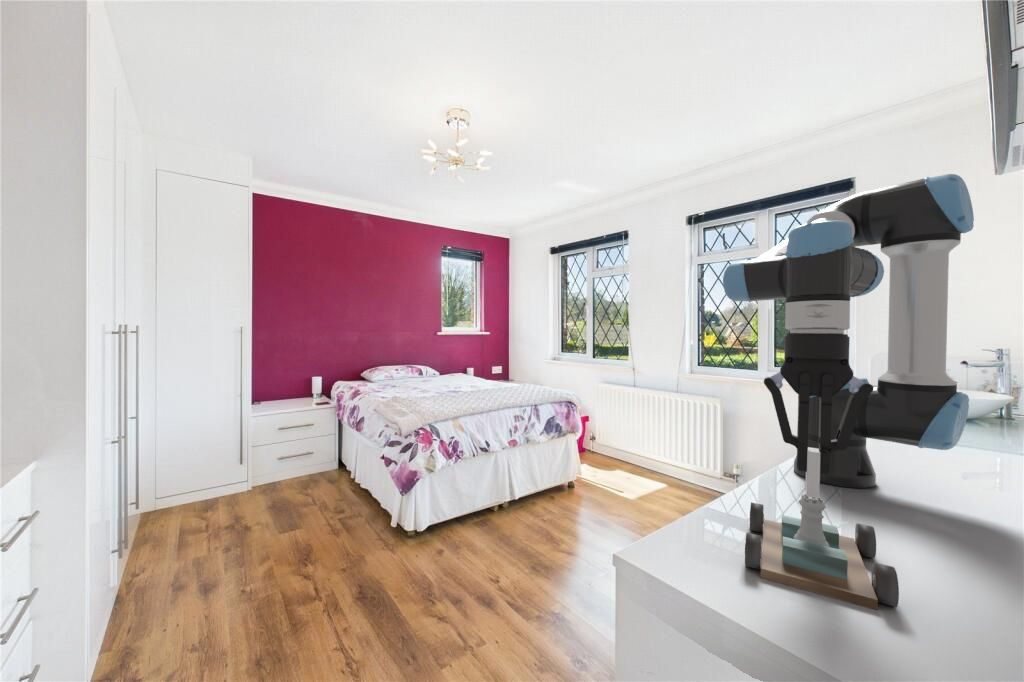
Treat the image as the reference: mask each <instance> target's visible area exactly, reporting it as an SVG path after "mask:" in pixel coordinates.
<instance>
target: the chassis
mask: <svg viewBox="0 0 1024 682" xmlns="http://www.w3.org/2000/svg"><path fill="white" fill-rule="evenodd" d="M749 510H750V511H749V530H750V531H753V532H758V533H762V535H759V534H754V533H750V532H746V534H745V542H744V566H746V567H749V568H751V569H752V568H753V569H755V570H760V578H763V579H765V578H766V579H765V580H769V581H773V582H776V583H780V584H784V585H788V586H791V587H795V588H798V589H802V590H805V591H808V592H812V593H815V594H820V595H823V596H827V597H830V598H833V597H834V599H836V600H837V599H838V600H840V601H841V600H842V601H844V602H848V603H851V604H855V605H858V606H862V607H866V608H869V609H873V610H877V611H878V609H879V608H878V607H879V603H880V604H885V605H886V606H887V605H888V606H892V607H896V608H897V607H898V605H899V599H900V588H899V578H898V574H897V571H896V568H895V566H892V565H887V564H883V563H877V562H873V563H872V565H871V579H870V576H869V574H868V572H867V568H866V567H865V564H864V561H863V559H862V557H866V558H871V559H875V558H876V555H877V536H876V531H875V528H874V526H871V525H868V524H867V525H866V524H863V523H862V524H861V523H856V524H855V530H854V531H855V532H854V538H853V537H848V536H843V535H840V532H839V529H838V526H836V525H833V524H832V525H831V524H826V523H822V528H823V534H824V536H825V538H826V541H827V542H828V544H829V547H827V546H822V545H818V544H814V543H809V542H805V541H801V540H796V539H793V537H794V535H795V534H797V531H798V530H799V528H800V524H801V518H797V517H794V516H788V515H783V514H782V515H781V522H778V521H774V520H769V519H765V514H764V504H762V503H761V504H760V503H756V502H750V508H749Z"/></svg>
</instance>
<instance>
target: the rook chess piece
mask: <svg viewBox="0 0 1024 682" xmlns="http://www.w3.org/2000/svg"><path fill="white" fill-rule="evenodd" d="M798 503H799V505H800V506H801V510H800V511H799V512H800V516H801V518H800V519H801V524H800V528H799V530H798V531H797V534H795V535H794V537H793V539H796V540H801V541H805V542H809V543H814V544H818V545H822V546H827V547H829V544H828V542H827V541H826V538H825V536H824V534H823V528H822V524H823V520H824V515H823V511H824V510H825V509H826V507H827V506H826V505H825V504H824V499H823V498H822V497H821V496H819V498H813V497H808V496H806V493H804V494H802V495H801V498H800V499H799V500H798Z"/></svg>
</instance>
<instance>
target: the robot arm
mask: <svg viewBox="0 0 1024 682" xmlns="http://www.w3.org/2000/svg"><path fill="white" fill-rule="evenodd" d="M973 228H974V210H973V203H972V200H971V196H970V193H969V189H968V187H967V184H966V182H965V180H964V178H962V177H961V176H960V175H958V174H955V173H947V174H941V175H937V176H932V177H929V176H925V177H924V178H920V179H916V180H912V181H907V182H904V183H898V184H895V185H890V186H886V187H882V188H878V189H873V190H868V191H867V190H866V191H863V192H859V193H856V194H853V195H851V196H848V197H846V198H844V199H842V200H840V201H838V202H835V203H833V204H831V205H830V206H827V207H826V208H824V209H822V210H820V211H819V212H817V213H815V214H814V215H813V216H811V217H810V218H809V219H808V220H807V221H806V222H805V224H801V225H798V226H796V227H794V228H793V229H791V231H790V232H789V234H788V236H787V237H786V239H784V240H782V241H780V242H779V243H778V244H776V245H775V246H773V247H772V248H770V249H768V250H767V251H765V252H763V253H762V254H761V255H759V256H757V257H756V258H754V259H750V260H742V261H738V262H733V263H731V264H729V265H727V267H726V268H725V271H724V273H723V276H722V285H723V289H724V290H723V291H724V293H725V295H726V296H727V298H728V299H729V300H731V301H733V302H748V303H750V302H760V301H772V300H773V301H774V300H785V316H784V317H785V318H784V320H785V321H784V323H785V329H786V330H789V332H788V333H786V335H785V336H784V359H783V363H782V365H781V367H780V371H778V372H777V373H775V374H773V375H771V376H766V377H765V378H764V379H763V383H764V385H765V387H766V388H767V390H768V391H769V392H770V394H771V397H772V400H773V404H774V410H775V413H776V417H777V420H778V424H779V428H780V433H781V437H782V441H783V442H784V443H785V444H789V445H792V446H794V447H795V448H796V450H797V451H796V456H795V458H794V461H793V471H794V473H796V474H797V475H799V476H801V477H803V478H805V483H804V484H805V489H804V490H805V494H806V496H808V497H809V498H812V497H813V498H816V499H818V498H819V497H820V486H821V485H820V483H822V484H827V485H832V486H837V487H844V488H851V489H852V488H854V489H855V488H856V489H863V488H864V489H865V488H866V489H867V488H872V487H875V486H876V484H877V480H876V479H877V478H876V477H877V476H876V475H877V474H876V472H875V469H874V466H873V464H872V461H871V458H870V455H869V452H868V450H867V439H871V440H877V441H883V442H890V443H896V444H901V445H907V446H914V447H918V448H919V449H923V448H924V449H932V450H933V449H934V450H939V451H940V450H941V451H949V450H950V449H954V447H955V446H957V445H958V443H959V441H960V439H961V437H962V435H963V432H964V430H965V427H966V423H967V418H968V414H969V410H970V409H969V408H970V404H969V403H970V399H969V395H968V394H967V393H964V392H962V391H957V390H958V387H957V386H958V383H957V381H955V380H954V379H953V378H951V376H949V375H948V374H947V339H948V338H947V337H948V298H949V294H948V293H949V264H950V263H949V261H950V260H949V259H950V258H949V256H950V252H952V250H954V249H955V248H956V247H958V246H959V245H960V244H961V238H962V237H961V236H962V234H966V233H969V232H971V231H972V230H974V229H973ZM873 245H880V252H881V253H883V254H884V255H885V256H887V257H888V258H889V285H888V286H889V290H888V291H889V295H888V333H887V334H888V335H887V337H888V339H887V340H888V341H887V343H888V344H887V370H886V372H884V373H883V374H882V375H881V376H879V377H878V378H877V385H872V384H871V383H870V381H868V378H866V377H865V378H864V377H856V376H854V370H853V369H852V368H851V366H850V361H849V360H850V340H851V339H850V336H848V335H849V334H847V333H846V334H845V331H846V330H847V331H848V330H849V329H851V328H850V326H851V325H850V324H851V323H850V322H851V321H850V320H851V318H850V317H851V316H850V315H851V298H855V297H861V296H865V295H867V294H870V293H871V292H872V291H874V290H876V288H878V287H879V285H880V284H881V282H882V280H883V278H884V275H885V274H884V273H885V270H884V269H885V267H884V265H883V262H882V261H881V259H880V258H879V257H878V256H877V255H875V254H874V253H872V252H871V251H870V250H868V249H865V248H860V247H864V246H873ZM783 380H785V381H786V383H788V385H789V386H790V388H791V389H792V390H793V391H794V393H796V394H797V395H798V396H797V398H798V399H797V400H798V401H797V427H796V428H797V430H796V431H797V433H796V435H795V434H792V432H793V431H792V429H791V425H790V422H789V418H788V414H787V410H786V406H785V403H784V398H783V394H782V392H781V389H782V388H783V387H784V384H783V383H784V382H783Z"/></svg>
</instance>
